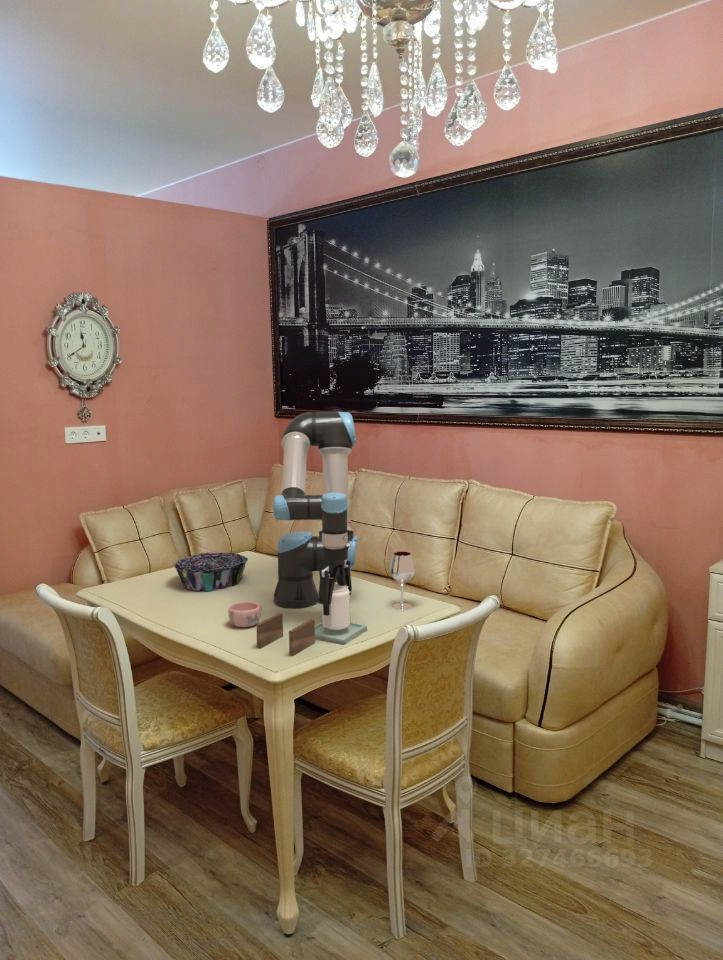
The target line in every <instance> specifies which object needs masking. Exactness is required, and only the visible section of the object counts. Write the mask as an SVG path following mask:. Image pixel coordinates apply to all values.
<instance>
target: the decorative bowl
mask: <svg viewBox="0 0 723 960" xmlns="http://www.w3.org/2000/svg"><path fill="white" fill-rule="evenodd" d="M248 560H249V558H248V557H246V556H245V555H241V554H239V553H233V552H223V551H222V552H219V551H217V552H216V551H215V552H204V553H203V552H202V553H199V554H194V555H190V556H186V557H183V558H180V559H178V560H177V561H175V563H174V564H173V566H174V569H175V570H176V572H177V574H178V577H179V579H180V581H181V584H182V586H183V587H184V588H185V589H187V590H189V591H195V592H211V591H217V590H221V589H226V588H229V587H234V586H237V585H238V584H239V582H240V581H241V579H242V576H243V574H244V570H245V567H246V564H247V562H248Z"/></svg>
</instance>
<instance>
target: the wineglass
mask: <svg viewBox="0 0 723 960" xmlns="http://www.w3.org/2000/svg"><path fill="white" fill-rule="evenodd" d="M391 558H392V559H391V562H390V566H389V575H390V576H391V577H392V579H394V580H395V581H396V582H397V583H398V585H400V602H398V603H394V604H392V606H391V607H392V608H393V609H395V610H398V611H407V610H410V609H412V607H413V605H412V604H410V603H405V602H404V586H405V584H406V583H408V582H409V581H410V580H411V579H412V578H413V577H414V575H415V572H416V570H415V564H414V560H413V555H412V552H410V551H395V552H394V553H393V554H392V557H391Z"/></svg>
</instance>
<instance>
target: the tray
mask: <svg viewBox="0 0 723 960" xmlns="http://www.w3.org/2000/svg"><path fill="white" fill-rule="evenodd" d="M366 631H368V625H367V624H362V623H357V622H353V621H350V625H349V626H348V627H346V628H344V629H341V630H331V629H328V628H325V627H324V626H323V620H322V621H321V622H318V623H317V624H315V640H319V641H324V642H327V643H328V642H329V643H334V644H337V645H343V646H344V645H347V644H348V643H350V642H351V641H352V640H354V639H356V638H357V637H359V636H360V635H362V634H363V633H365V632H366Z"/></svg>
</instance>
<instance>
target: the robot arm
mask: <svg viewBox="0 0 723 960" xmlns="http://www.w3.org/2000/svg"><path fill="white" fill-rule="evenodd" d="M355 429H356V428H355V423H354V419H353V416H352V414H351V413H350V412H348V411H347V412H345V411H344V412H343V411H321V412H320V411H319V412H317V411H315V412H314V411H313V412H312V411H310V412H309V411H307V412H303V413H300V414H298V415H297V416H295V417H294V418H292V420H291V421H289V423H287V425H286V427H285V428H284V430H283V433H282V434H281V447H282V449H283V460H282V461H283V462H282V477H281V490H280V491H281V493H280V494H279V495H275V496H274V498H273V516H274V518H275V520H277V521H304V520H305V521H312V520H313V521H314V520H315V521H319V520H321V528H320V529H319V530H318V535H317V536H314V535H313V533H312V532H311V531H308V530H307V531H305V530H300V531H294V532H290V533H286V534H283V535H281V536H280V537H279V538H278V540H277V549H276V553H277V575H278V576H277V578H278V579H277V583H276V586H275V590H274V593H273V604H274V605H276V606H278V607H281V608H289V609H300V608H307V607H310V606H314V605H315V604H317V603H318V604H320V605H322V604H323V616H324V625H327V626H333V604H331V599H332V594H333V589H334V584H338V585H340V586H344V585H346V586H347V587H348V590H349V593H350V596H351V595H352V591H353V587H352V577H351V570H354V567H355V565H356V563H355V562H356V556H357V548H358V547H357V546H358V540H359V539H358V536H357V535H354V530H353V528H352V527H351V526H350V525H349V522H350V521H349V519H350V518H349V516H350V515H349V467H348V465H349V461H348V460H349V455H350V454H351V453H352V452H353V447H355V446H356V445H357V438H356V430H355ZM310 447H317V452H318V453H319V454H320V455H321V456H322V494H306V492H307V491H306V489H307V488H306V487H307V485H306V484H307V462H308V461H307V460H308V459H307V457H308V450H309V449H310ZM314 572H318V573H319V583H318V585H319V586H318V589H317V586H316V583H315V579H314Z"/></svg>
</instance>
